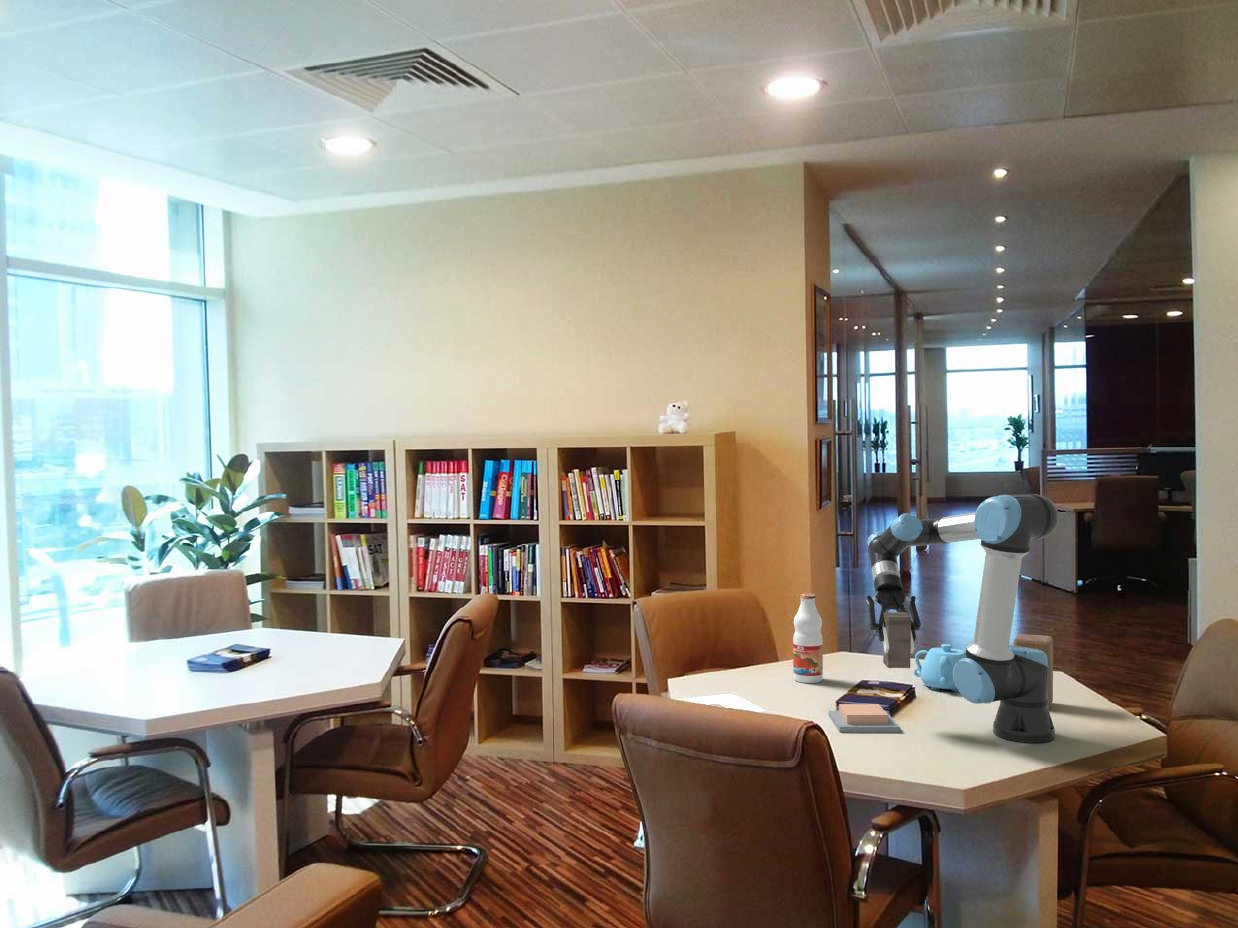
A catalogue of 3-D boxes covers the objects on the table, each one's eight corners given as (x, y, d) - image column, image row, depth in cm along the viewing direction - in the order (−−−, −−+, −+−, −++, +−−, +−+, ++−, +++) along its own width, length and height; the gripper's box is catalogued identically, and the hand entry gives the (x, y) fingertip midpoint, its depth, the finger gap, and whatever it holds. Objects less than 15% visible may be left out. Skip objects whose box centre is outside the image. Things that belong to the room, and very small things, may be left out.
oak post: (883, 662, 275) (883, 612, 275) (905, 662, 275) (905, 612, 274) (887, 667, 269) (888, 616, 269) (910, 668, 269) (910, 616, 268)
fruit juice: (828, 680, 324) (828, 594, 323) (811, 685, 317) (810, 597, 317) (805, 675, 331) (804, 591, 330) (787, 680, 324) (787, 594, 324)
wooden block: (1013, 707, 290) (1013, 638, 289) (1016, 698, 299) (1017, 632, 298) (1050, 711, 285) (1050, 641, 285) (1053, 702, 294) (1053, 635, 294)
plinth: (828, 715, 282) (828, 701, 282) (885, 715, 282) (885, 701, 282) (839, 732, 266) (839, 717, 266) (899, 732, 266) (899, 717, 266)
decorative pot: (955, 680, 323) (955, 638, 323) (984, 691, 307) (984, 648, 307) (910, 683, 319) (910, 641, 319) (937, 695, 304) (937, 651, 303)
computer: (665, 709, 292) (665, 700, 292) (732, 702, 299) (732, 693, 299) (697, 729, 271) (697, 719, 271) (768, 721, 279) (768, 711, 279)
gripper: (918, 588, 286) (932, 658, 271) (851, 587, 287) (862, 657, 272) (923, 572, 281) (938, 643, 265) (855, 572, 282) (866, 642, 266)
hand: (899, 650), depth 268 cm, fingers closed on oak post, 6 cm apart
